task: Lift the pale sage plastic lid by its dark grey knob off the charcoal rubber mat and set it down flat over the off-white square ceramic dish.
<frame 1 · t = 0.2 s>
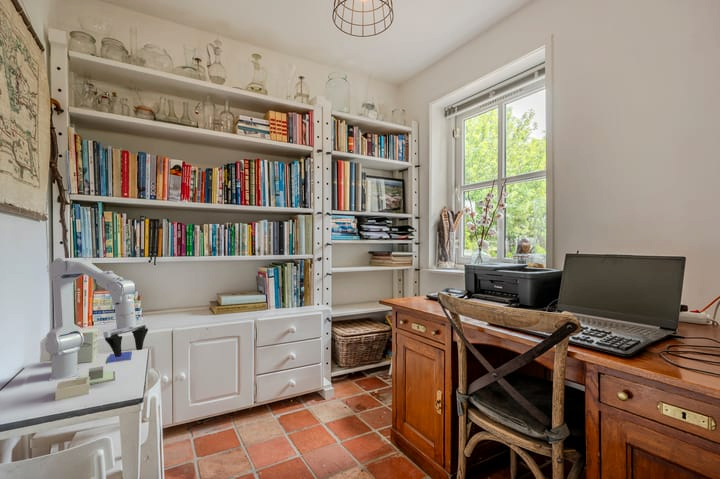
hand: (129, 353, 118), 11 cm above the table, tool pointing down, fingers open, 7 cm apart
hard drive: (119, 360, 144), on the table
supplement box: (84, 361, 142), on the table
mat: (95, 380, 120), on the table
dish: (73, 393, 109), on the table
lid: (96, 379, 120), resting on mat
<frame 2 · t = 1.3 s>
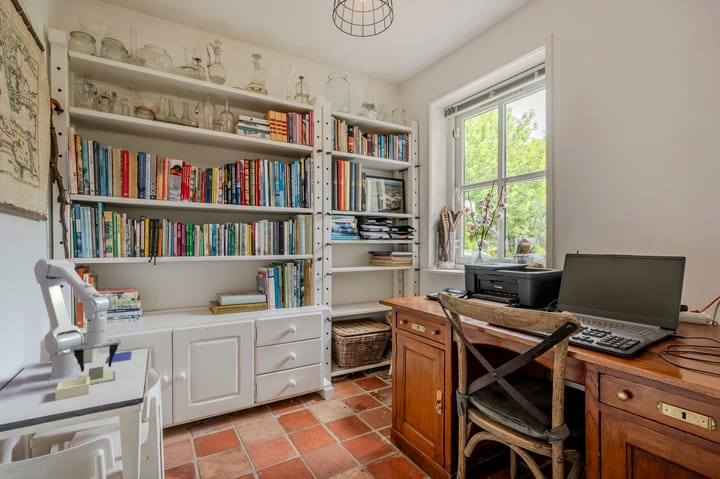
hand: (96, 368, 120), 4 cm above the table, tool pointing down, fingers open, 7 cm apart
nothing on the table moved.
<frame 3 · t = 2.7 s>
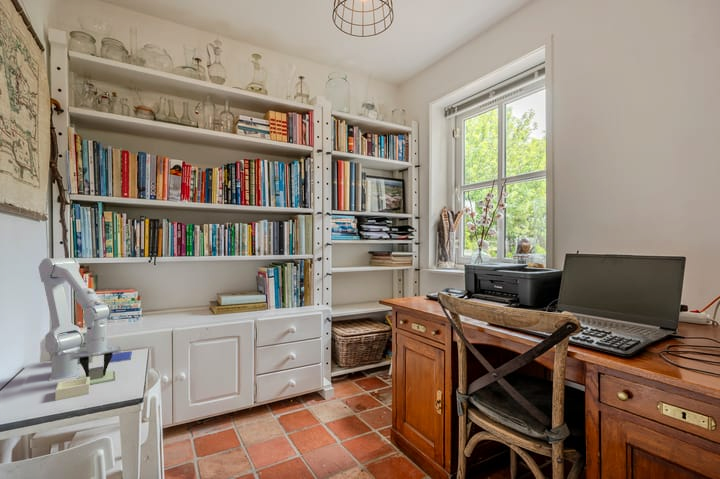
hand: (96, 376, 120), 1 cm above the table, tool pointing down, fingers closed on lid, 4 cm apart
lid: (96, 379, 120), resting on mat, touching gripper
everything else where it was.
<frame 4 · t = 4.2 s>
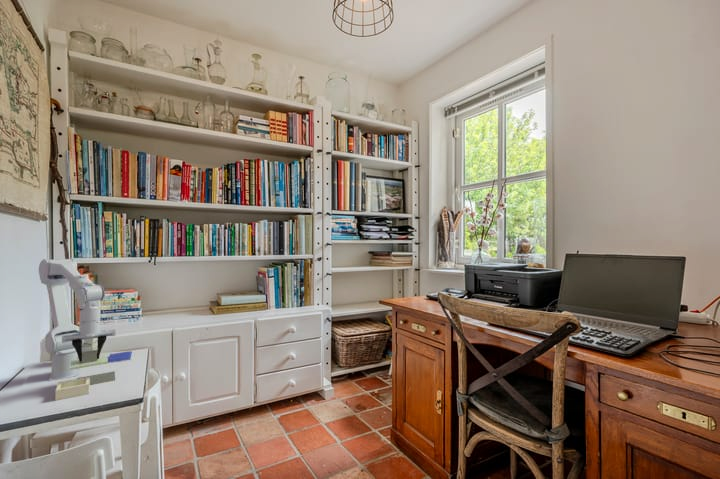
hand: (89, 359, 116), 9 cm above the table, tool pointing down, fingers closed on lid, 4 cm apart
lid: (89, 362, 116), point 8 cm above the table, touching gripper
everything else where it was.
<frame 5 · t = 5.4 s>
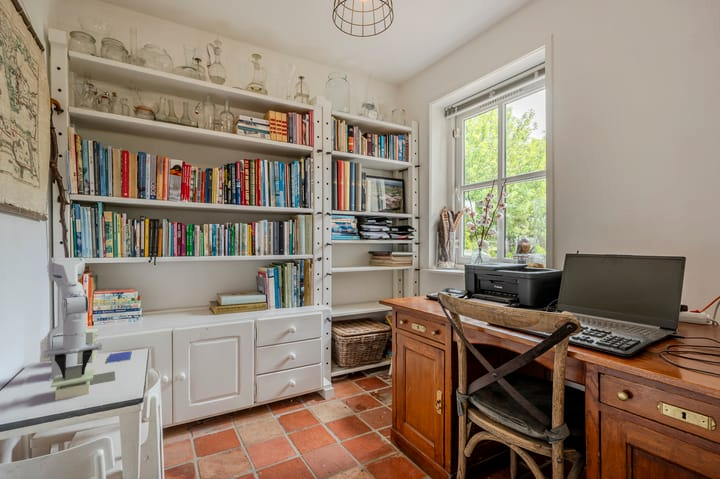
hand: (73, 375, 109), 6 cm above the table, tool pointing down, fingers closed on lid, 4 cm apart
lid: (73, 378, 109), point 5 cm above the table, touching gripper
everything else where it was.
when the fingers open (6 cm above the table, at t = 6.1 s): lid drops 1 cm, resting on dish.
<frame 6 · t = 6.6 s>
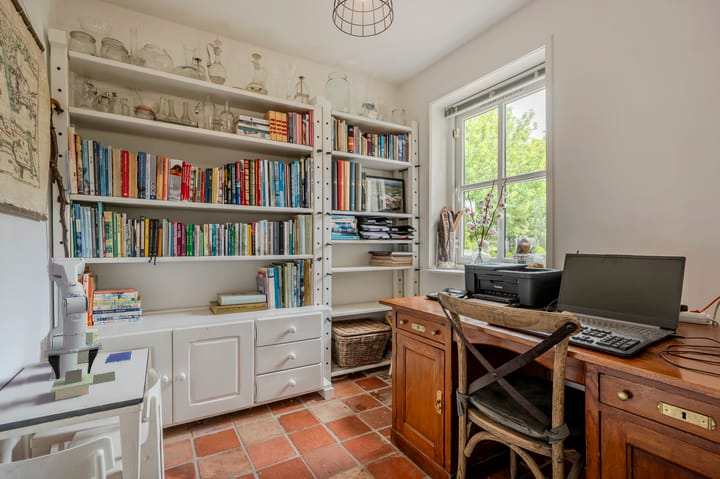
hand: (73, 375, 109), 6 cm above the table, tool pointing down, fingers open, 7 cm apart
lid: (73, 383, 109), point 3 cm above the table, touching dish
everything else where it was.
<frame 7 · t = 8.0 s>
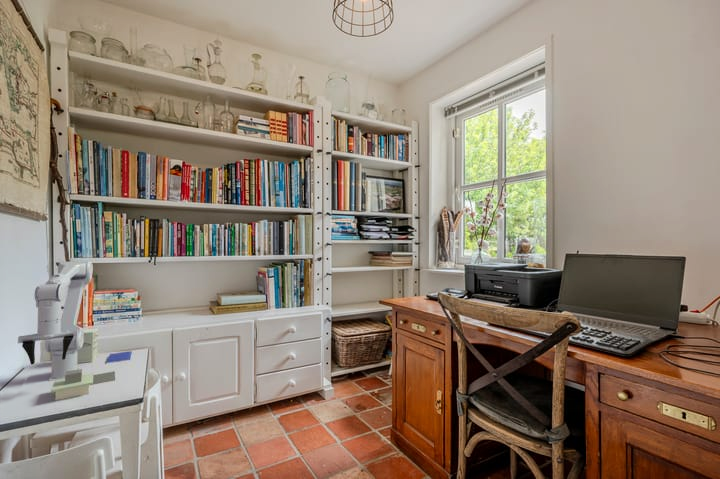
hand: (48, 361, 111), 10 cm above the table, tool pointing down, fingers open, 7 cm apart
nothing on the table moved.
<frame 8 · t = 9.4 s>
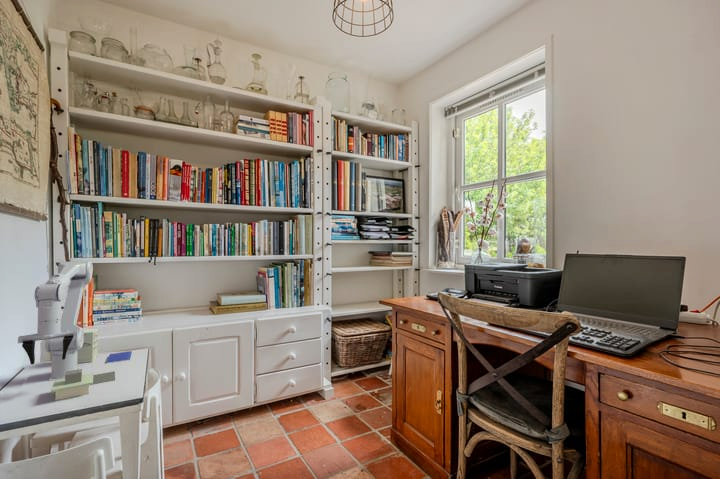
hand: (48, 361, 111), 10 cm above the table, tool pointing down, fingers open, 7 cm apart
nothing on the table moved.
at the end: lid 0.0 cm off-centre on the dish, point 3.5 cm above the dish's base; lid tilted 0°; the gripper is holding nothing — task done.
